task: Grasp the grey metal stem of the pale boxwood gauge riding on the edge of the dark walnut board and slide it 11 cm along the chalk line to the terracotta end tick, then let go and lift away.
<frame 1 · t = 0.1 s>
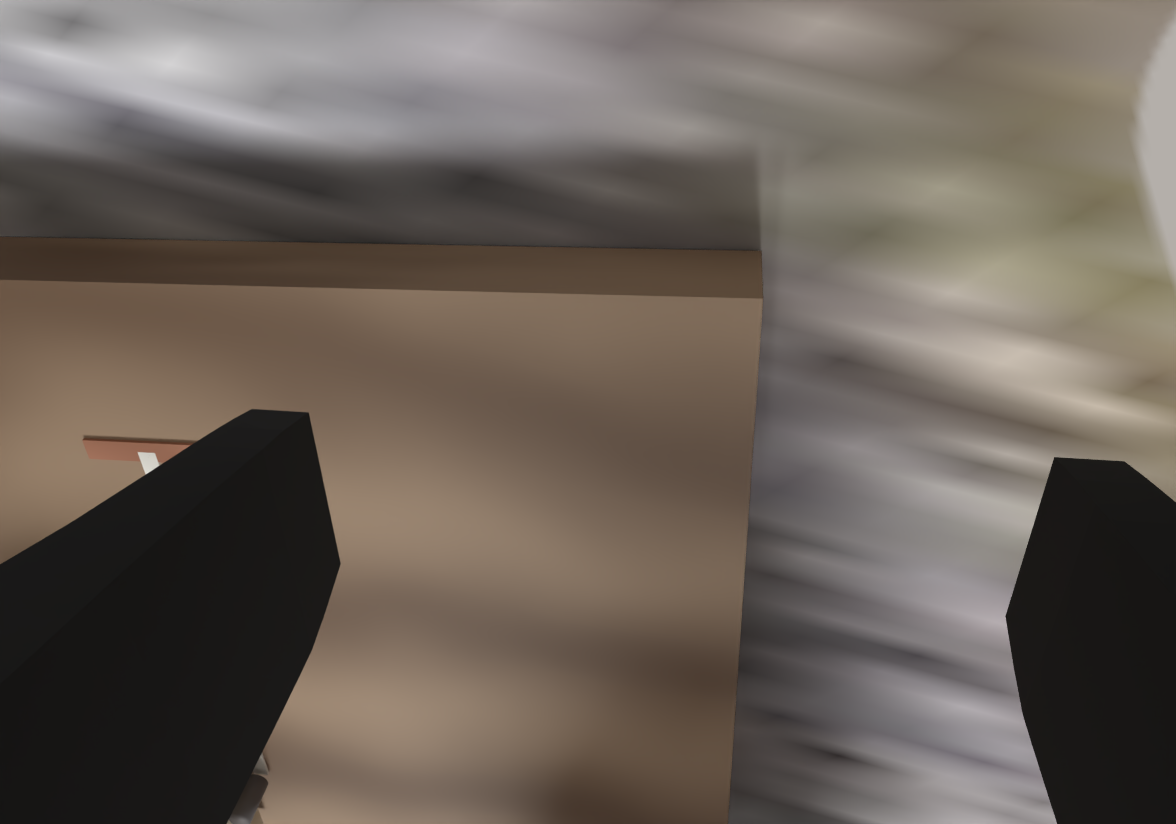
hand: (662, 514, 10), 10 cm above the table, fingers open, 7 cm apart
board: (344, 567, 25), on the table
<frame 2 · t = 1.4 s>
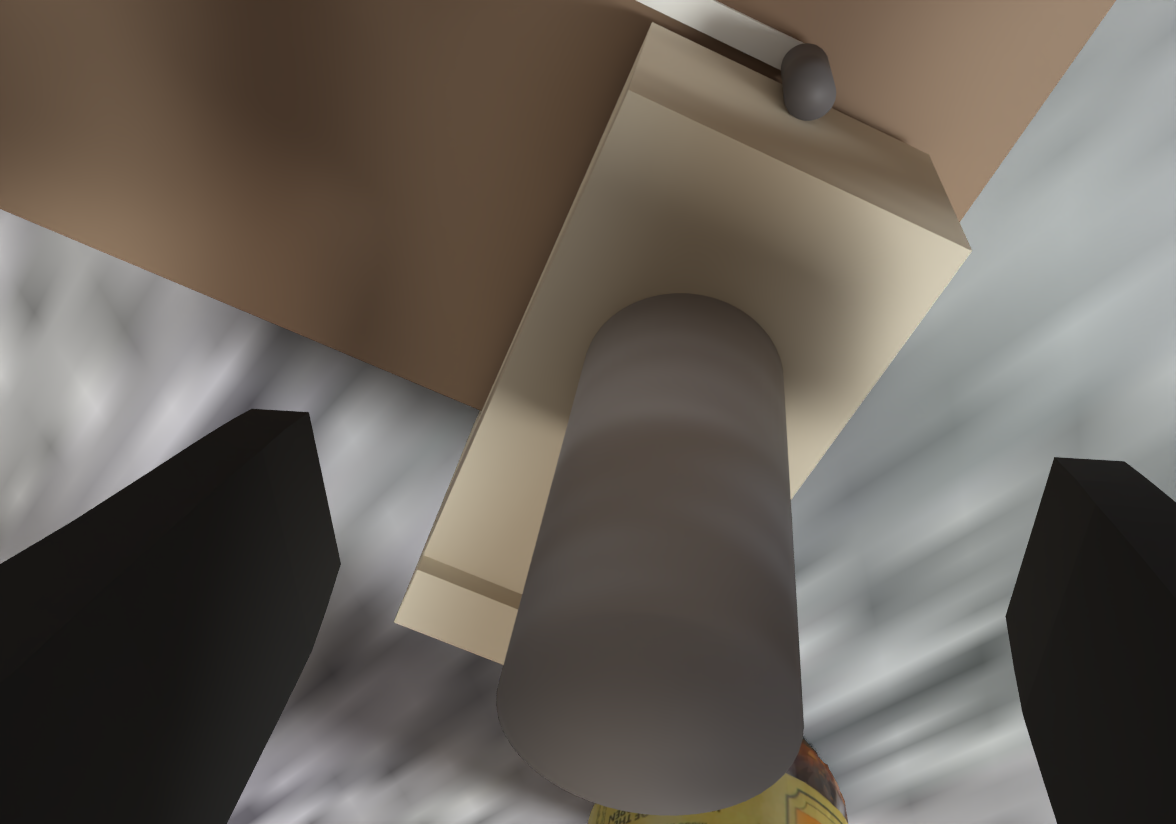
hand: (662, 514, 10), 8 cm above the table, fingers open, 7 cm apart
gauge: (646, 449, 12), point 5 cm above the table, slide at 0.0 cm
yellow labelled brown bottle: (720, 768, 24), on the table
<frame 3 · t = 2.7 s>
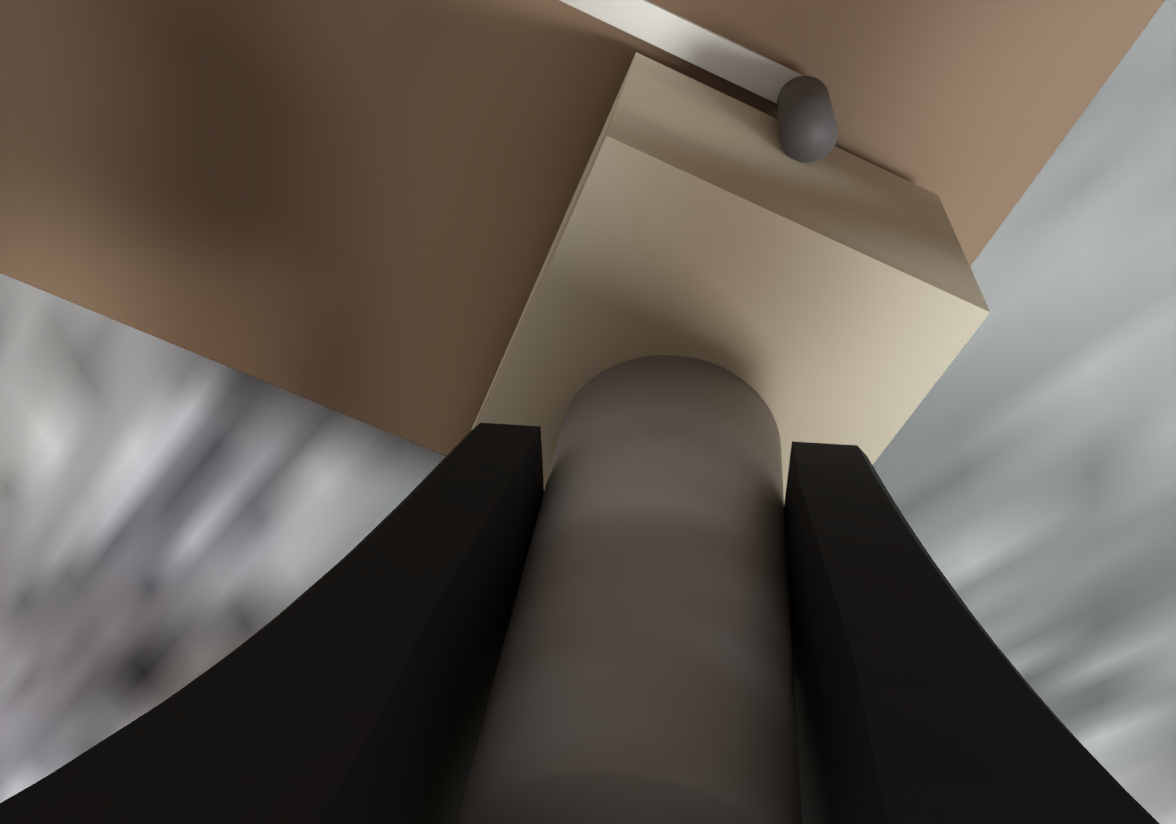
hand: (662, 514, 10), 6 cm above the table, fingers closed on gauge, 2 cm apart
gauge: (630, 520, 11), point 5 cm above the table, slide at 0.0 cm, touching gripper
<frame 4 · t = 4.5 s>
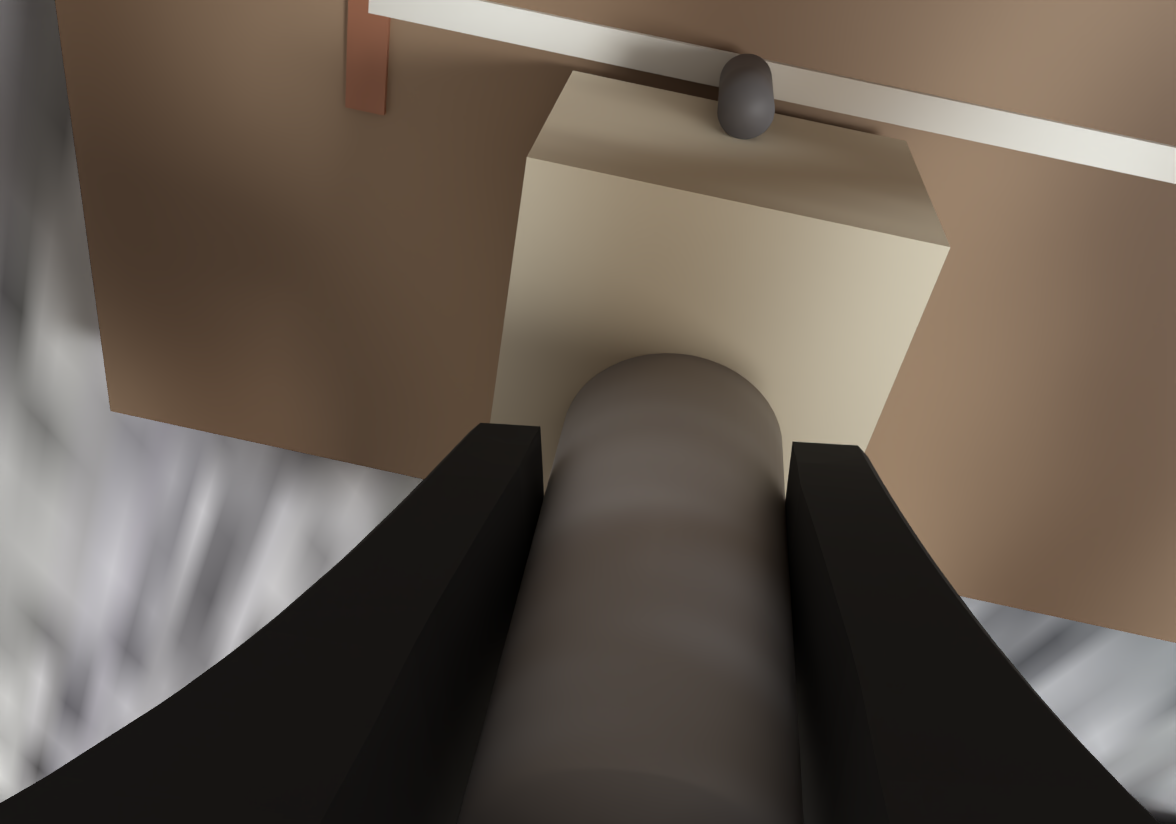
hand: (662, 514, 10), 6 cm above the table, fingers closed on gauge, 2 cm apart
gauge: (650, 524, 11), point 5 cm above the table, slide at 6.5 cm, touching gripper
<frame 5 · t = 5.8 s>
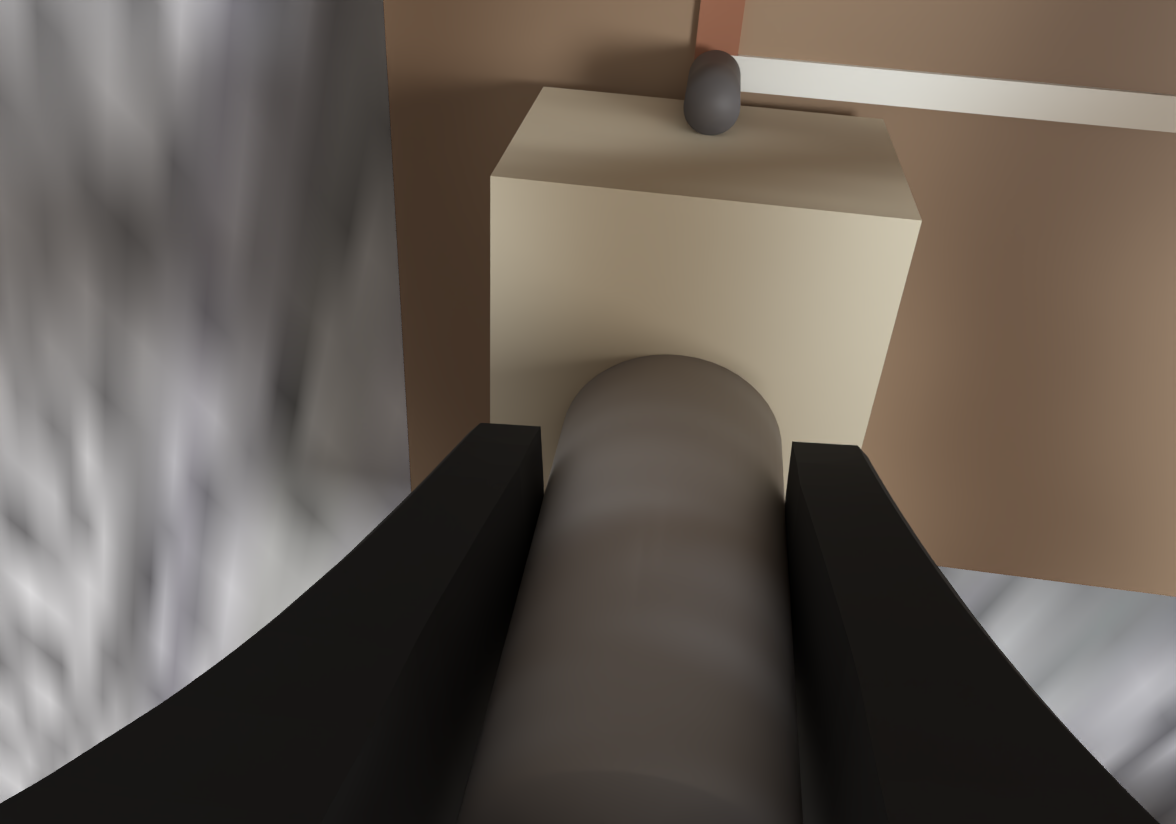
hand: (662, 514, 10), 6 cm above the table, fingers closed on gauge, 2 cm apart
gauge: (660, 527, 11), point 5 cm above the table, slide at 11.0 cm, touching gripper
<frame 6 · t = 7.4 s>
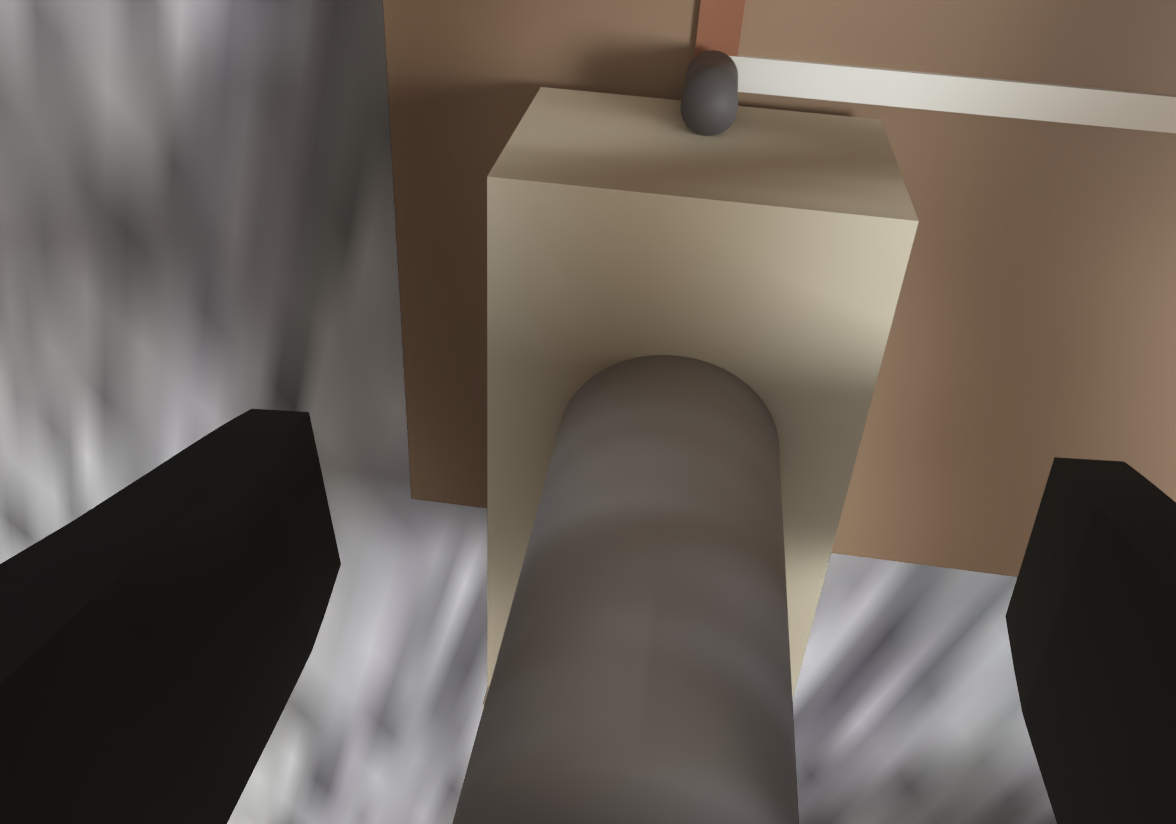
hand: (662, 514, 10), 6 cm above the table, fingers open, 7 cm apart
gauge: (657, 528, 11), point 5 cm above the table, slide at 11.0 cm
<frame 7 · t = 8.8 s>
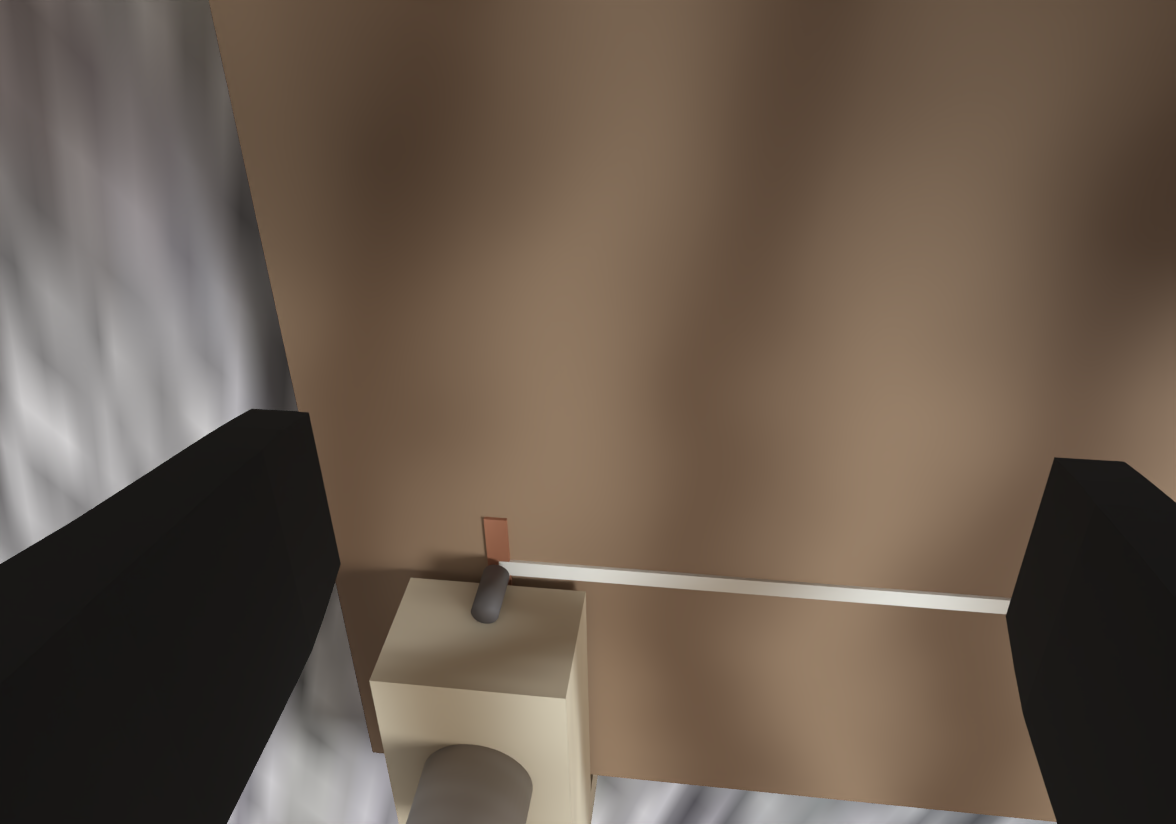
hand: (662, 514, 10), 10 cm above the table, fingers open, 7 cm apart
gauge: (480, 814, 22), point 5 cm above the table, slide at 11.0 cm
board: (732, 426, 22), on the table
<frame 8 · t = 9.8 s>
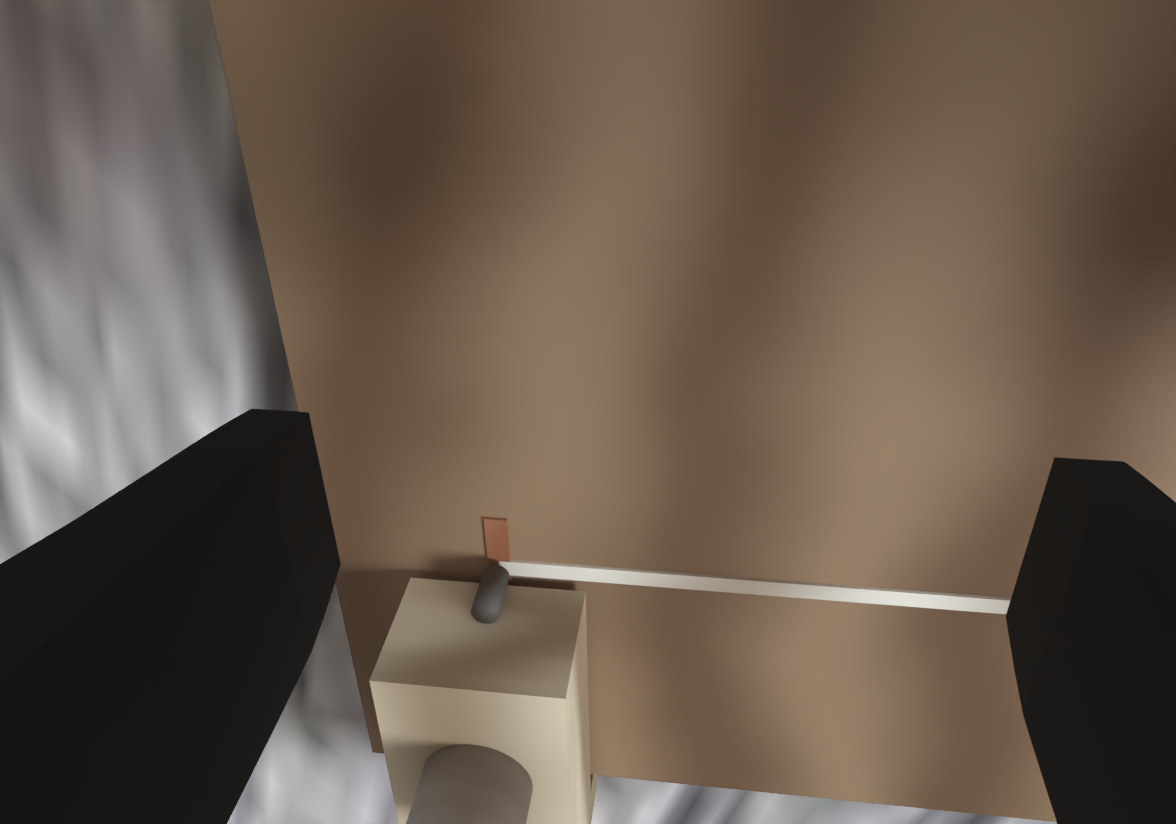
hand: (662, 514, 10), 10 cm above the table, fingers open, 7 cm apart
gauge: (480, 814, 22), point 5 cm above the table, slide at 11.0 cm
board: (732, 426, 22), on the table
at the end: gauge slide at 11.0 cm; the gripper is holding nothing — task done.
